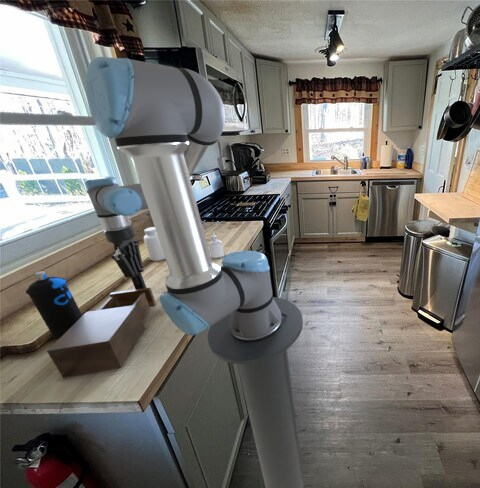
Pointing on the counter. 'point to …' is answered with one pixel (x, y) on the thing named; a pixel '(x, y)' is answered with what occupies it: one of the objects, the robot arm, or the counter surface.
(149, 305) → the drawer
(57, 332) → the aerosol can
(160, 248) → the pill bottle
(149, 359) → the counter surface
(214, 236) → the eye dropper bottle
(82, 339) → the cabinet
